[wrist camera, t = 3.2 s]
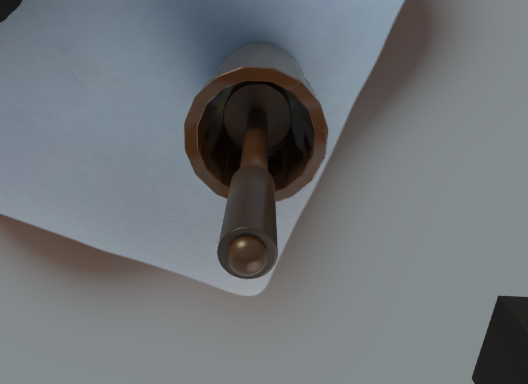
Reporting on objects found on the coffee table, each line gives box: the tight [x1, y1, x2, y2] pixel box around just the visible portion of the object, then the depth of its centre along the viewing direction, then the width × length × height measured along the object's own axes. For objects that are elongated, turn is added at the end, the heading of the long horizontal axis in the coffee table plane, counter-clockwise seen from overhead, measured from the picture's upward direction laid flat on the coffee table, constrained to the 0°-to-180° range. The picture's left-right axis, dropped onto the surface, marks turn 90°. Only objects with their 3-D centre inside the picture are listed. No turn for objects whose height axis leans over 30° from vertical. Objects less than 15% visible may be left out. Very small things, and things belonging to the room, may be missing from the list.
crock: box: [184, 42, 328, 202], centre depth 34 cm, size 9×9×17 cm
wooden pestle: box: [217, 81, 292, 279], centre depth 24 cm, size 5×5×22 cm
